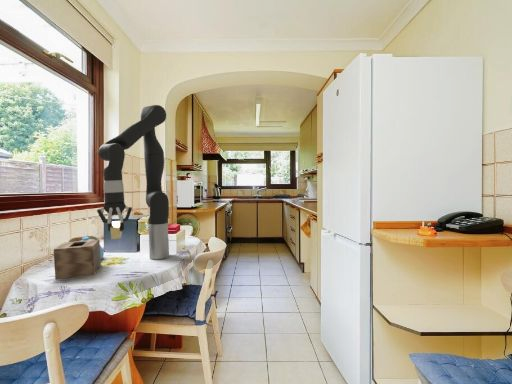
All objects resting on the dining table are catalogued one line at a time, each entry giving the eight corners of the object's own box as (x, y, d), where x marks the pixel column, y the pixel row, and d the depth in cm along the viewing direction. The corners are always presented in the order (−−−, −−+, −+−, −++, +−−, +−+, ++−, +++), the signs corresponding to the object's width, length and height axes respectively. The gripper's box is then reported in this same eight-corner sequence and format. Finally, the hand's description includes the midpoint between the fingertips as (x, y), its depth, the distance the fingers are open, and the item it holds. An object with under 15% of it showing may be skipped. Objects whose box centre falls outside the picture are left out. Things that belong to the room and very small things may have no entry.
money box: (100, 264, 134) (99, 239, 133) (94, 274, 121) (92, 246, 120) (65, 268, 130) (64, 242, 129) (55, 278, 116) (53, 249, 116)
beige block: (122, 231, 127) (121, 220, 126) (120, 238, 121) (119, 227, 119) (113, 231, 126) (112, 221, 124) (111, 239, 120) (110, 228, 118)
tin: (67, 253, 156) (66, 238, 156) (68, 252, 159) (67, 237, 159) (98, 250, 162) (98, 235, 162) (99, 249, 165) (98, 234, 165)
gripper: (132, 190, 128) (134, 228, 129) (96, 191, 123) (99, 231, 124) (131, 190, 120) (133, 231, 121) (93, 192, 116) (96, 234, 117)
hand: (116, 231), depth 123 cm, fingers closed on beige block, 3 cm apart
